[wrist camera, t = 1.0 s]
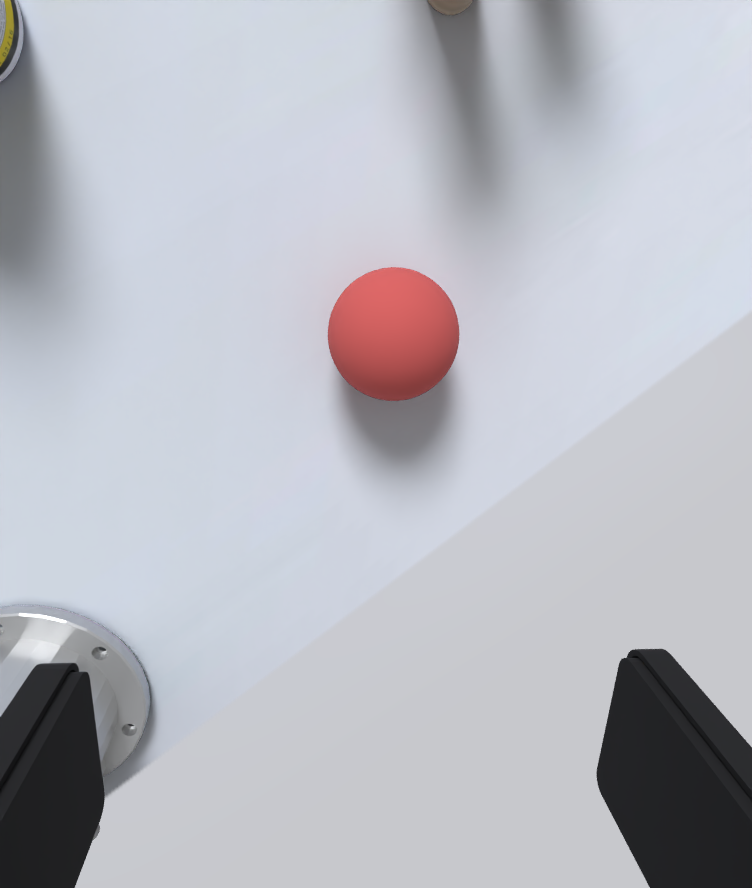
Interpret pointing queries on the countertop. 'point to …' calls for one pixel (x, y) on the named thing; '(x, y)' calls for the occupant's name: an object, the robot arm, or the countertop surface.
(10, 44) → the supplement bottle
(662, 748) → the robot arm
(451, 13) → the pin
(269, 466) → the countertop surface
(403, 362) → the ball
